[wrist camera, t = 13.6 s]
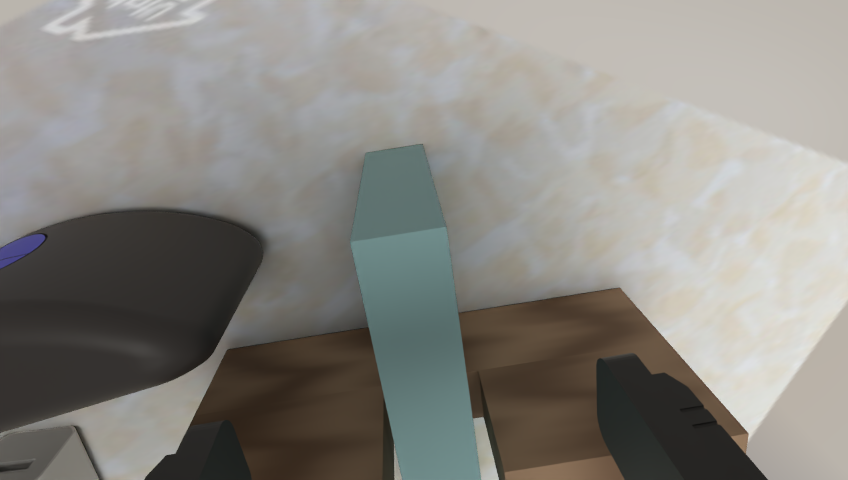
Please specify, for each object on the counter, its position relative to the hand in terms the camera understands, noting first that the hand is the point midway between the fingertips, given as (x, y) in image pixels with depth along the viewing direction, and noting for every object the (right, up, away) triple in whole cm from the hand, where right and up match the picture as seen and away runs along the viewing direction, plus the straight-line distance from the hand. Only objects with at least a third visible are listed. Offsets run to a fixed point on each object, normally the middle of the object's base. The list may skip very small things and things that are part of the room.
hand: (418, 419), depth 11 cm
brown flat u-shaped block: (0, -1, +15) cm, 15 cm away
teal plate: (0, -1, +15) cm, 15 cm away
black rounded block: (-15, +2, +13) cm, 20 cm away
